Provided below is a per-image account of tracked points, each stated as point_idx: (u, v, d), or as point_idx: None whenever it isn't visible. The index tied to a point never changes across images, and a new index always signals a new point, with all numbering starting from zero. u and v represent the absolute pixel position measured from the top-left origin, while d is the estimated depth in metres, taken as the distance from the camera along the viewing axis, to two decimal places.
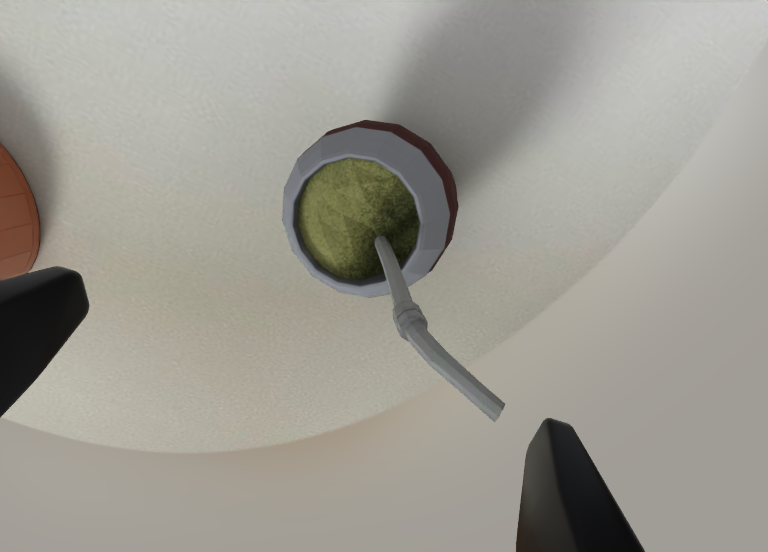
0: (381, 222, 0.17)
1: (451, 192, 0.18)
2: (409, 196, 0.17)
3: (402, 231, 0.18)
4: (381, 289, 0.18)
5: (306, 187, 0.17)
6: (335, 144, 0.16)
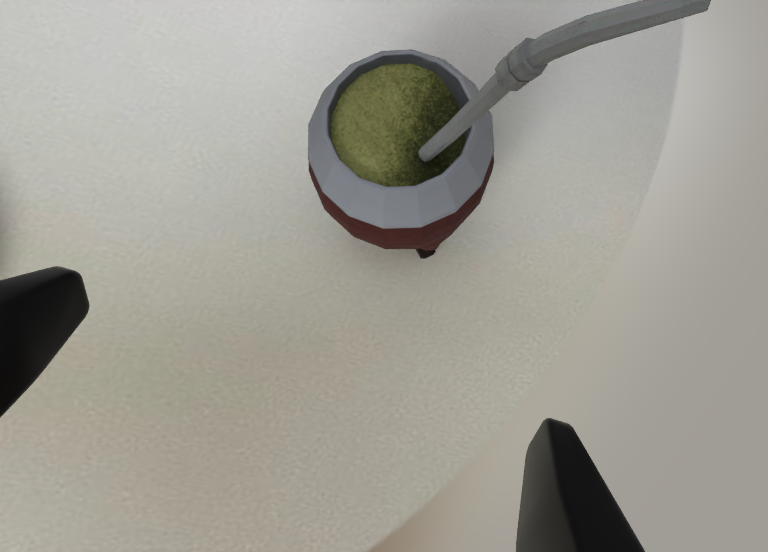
0: (422, 131, 0.16)
1: None
2: (448, 100, 0.16)
3: None
4: (439, 188, 0.15)
5: (338, 103, 0.16)
6: None
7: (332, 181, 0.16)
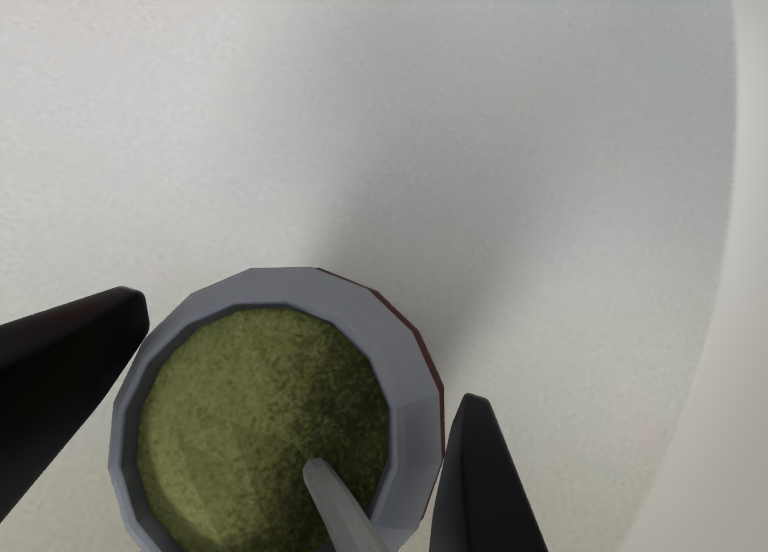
0: (312, 429, 0.09)
1: (429, 358, 0.10)
2: (360, 367, 0.09)
3: (356, 441, 0.09)
4: None
5: (157, 380, 0.09)
6: (212, 292, 0.09)
7: (135, 541, 0.08)
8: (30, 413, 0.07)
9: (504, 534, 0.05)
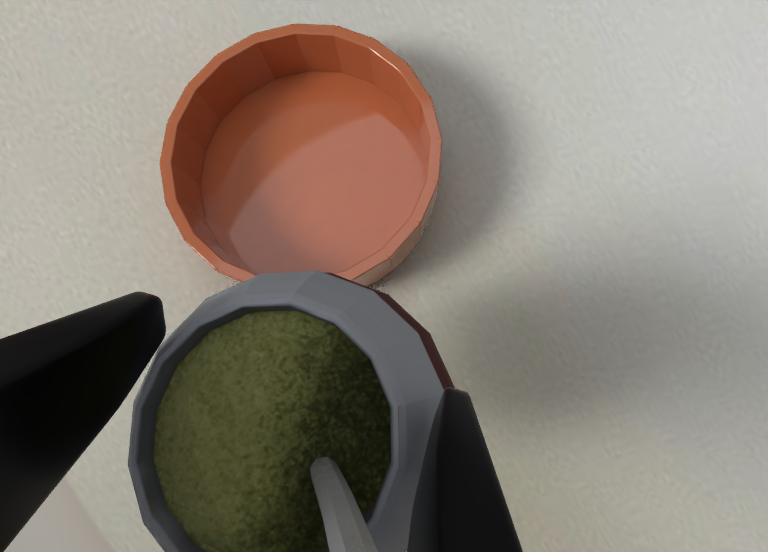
0: (319, 428, 0.09)
1: (438, 360, 0.10)
2: (365, 367, 0.09)
3: (363, 440, 0.09)
4: None
5: (172, 381, 0.09)
6: (223, 296, 0.09)
7: (152, 534, 0.09)
8: (50, 420, 0.07)
9: (475, 525, 0.06)
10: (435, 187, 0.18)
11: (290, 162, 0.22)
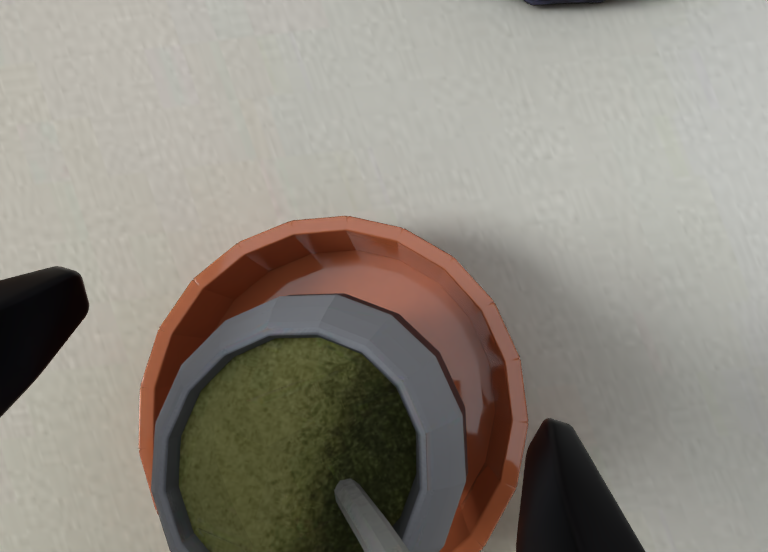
0: (342, 451, 0.09)
1: (451, 380, 0.11)
2: (387, 392, 0.10)
3: (384, 462, 0.09)
4: None
5: (195, 407, 0.09)
6: (245, 322, 0.10)
7: None
8: None
9: None
10: (511, 495, 0.13)
11: None
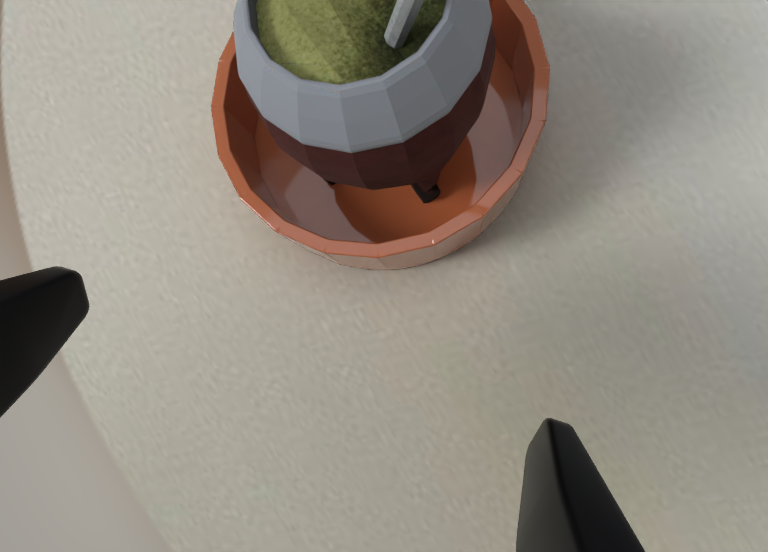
0: (386, 6, 0.11)
1: None
2: None
3: (422, 14, 0.11)
4: (418, 74, 0.10)
5: None
6: None
7: (269, 95, 0.11)
8: None
9: None
10: (541, 128, 0.15)
11: None
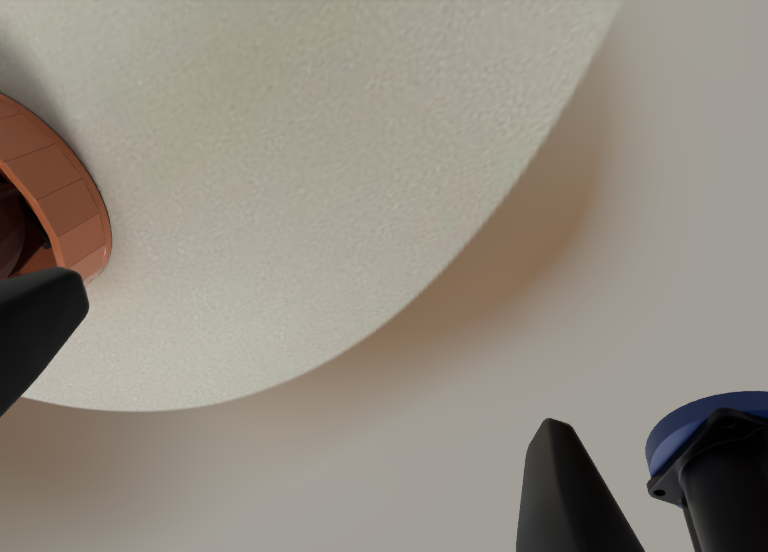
0: None
1: None
2: None
3: None
4: None
5: None
6: None
7: None
8: None
9: None
10: None
11: None
